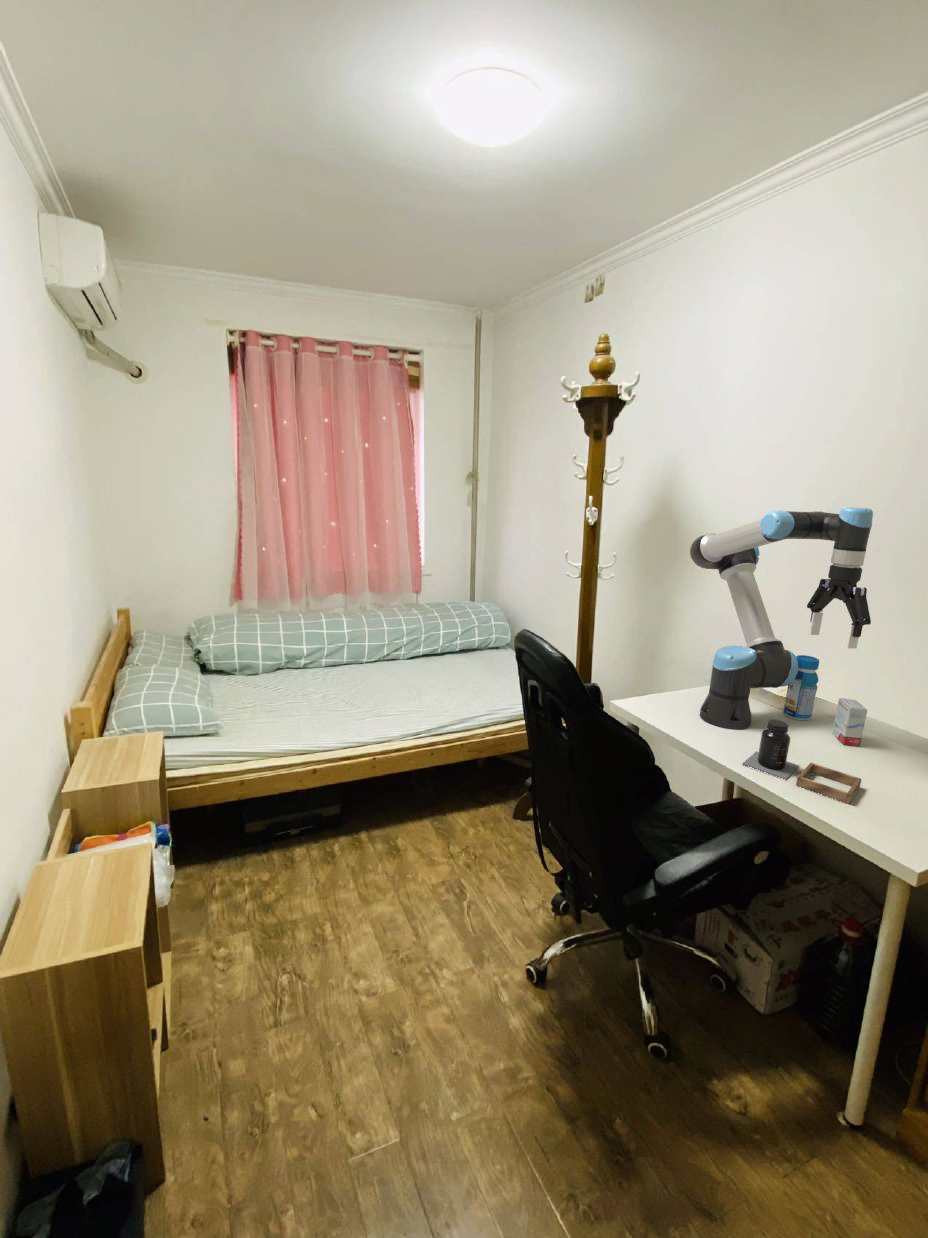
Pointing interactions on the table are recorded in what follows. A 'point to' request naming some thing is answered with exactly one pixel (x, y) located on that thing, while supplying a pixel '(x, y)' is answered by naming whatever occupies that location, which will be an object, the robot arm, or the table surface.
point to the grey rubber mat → (782, 773)
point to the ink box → (849, 722)
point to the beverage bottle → (802, 689)
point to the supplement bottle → (774, 745)
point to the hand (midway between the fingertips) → (831, 641)
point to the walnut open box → (828, 790)
